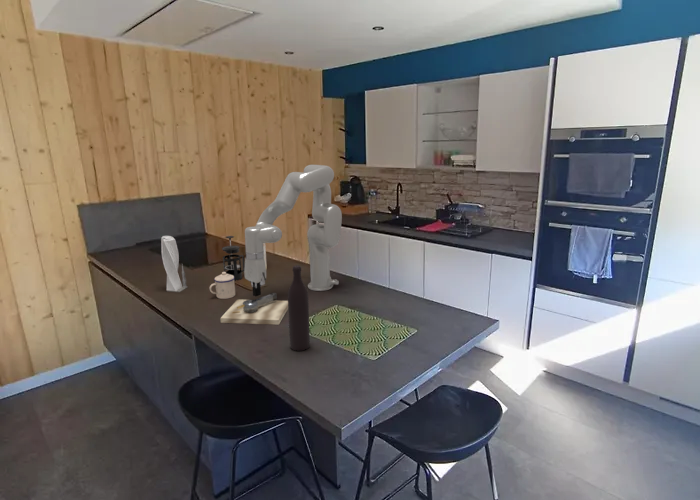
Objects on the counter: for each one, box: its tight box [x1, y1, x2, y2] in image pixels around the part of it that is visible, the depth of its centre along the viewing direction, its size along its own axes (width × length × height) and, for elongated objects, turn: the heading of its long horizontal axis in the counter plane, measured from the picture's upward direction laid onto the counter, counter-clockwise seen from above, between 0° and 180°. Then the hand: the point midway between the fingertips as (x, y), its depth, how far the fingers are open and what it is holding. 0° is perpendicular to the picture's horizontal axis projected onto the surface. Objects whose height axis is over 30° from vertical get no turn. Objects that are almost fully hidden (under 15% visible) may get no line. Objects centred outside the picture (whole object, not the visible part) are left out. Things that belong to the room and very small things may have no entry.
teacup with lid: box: [209, 271, 236, 300], centre depth 192 cm, size 12×9×12 cm
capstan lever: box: [237, 292, 278, 312], centre depth 175 cm, size 20×6×3 cm, turn 140°
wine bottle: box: [287, 264, 311, 352], centre depth 143 cm, size 7×7×30 cm
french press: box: [221, 235, 245, 282], centre depth 216 cm, size 12×9×23 cm
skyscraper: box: [160, 235, 188, 293], centre depth 199 cm, size 8×8×28 cm
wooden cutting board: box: [220, 299, 288, 326], centre depth 174 cm, size 24×20×3 cm
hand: (256, 295), depth 182 cm, fingers closed
